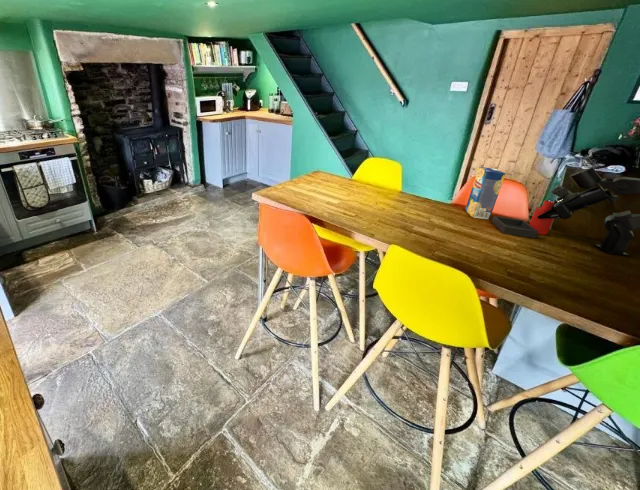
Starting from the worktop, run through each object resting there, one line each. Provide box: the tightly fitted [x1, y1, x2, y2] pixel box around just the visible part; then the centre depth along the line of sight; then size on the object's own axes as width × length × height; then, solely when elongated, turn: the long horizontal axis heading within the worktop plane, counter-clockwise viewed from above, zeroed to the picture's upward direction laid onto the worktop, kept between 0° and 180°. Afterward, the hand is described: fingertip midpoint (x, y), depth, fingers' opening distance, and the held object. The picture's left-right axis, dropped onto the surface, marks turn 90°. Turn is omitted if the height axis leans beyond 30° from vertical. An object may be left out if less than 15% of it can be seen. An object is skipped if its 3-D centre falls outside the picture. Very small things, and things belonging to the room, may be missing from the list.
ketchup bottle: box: [528, 200, 555, 236], centre depth 126 cm, size 6×6×14 cm
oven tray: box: [491, 215, 539, 239], centre depth 128 cm, size 13×11×3 cm
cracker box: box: [464, 166, 507, 221], centre depth 141 cm, size 7×11×22 cm, turn 162°
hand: (538, 215), depth 127 cm, fingers closed on ketchup bottle, 6 cm apart
